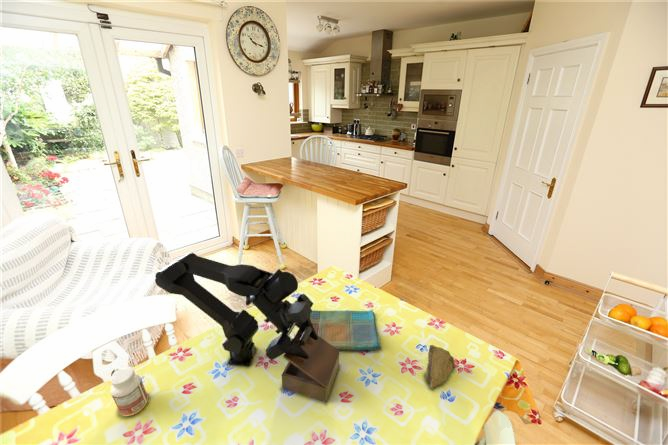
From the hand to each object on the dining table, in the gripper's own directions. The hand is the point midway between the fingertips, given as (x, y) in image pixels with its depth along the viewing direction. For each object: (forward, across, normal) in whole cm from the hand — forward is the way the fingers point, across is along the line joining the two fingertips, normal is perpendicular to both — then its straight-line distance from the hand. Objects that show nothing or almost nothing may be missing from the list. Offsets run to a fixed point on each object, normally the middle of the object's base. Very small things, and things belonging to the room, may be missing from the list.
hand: (312, 348), depth 77 cm
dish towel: (+10, +19, +6) cm, 23 cm away
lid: (+2, 0, +2) cm, 2 cm away
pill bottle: (-21, -22, +37) cm, 47 cm away
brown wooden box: (+8, 0, +8) cm, 11 cm away
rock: (+33, +12, -16) cm, 39 cm away
